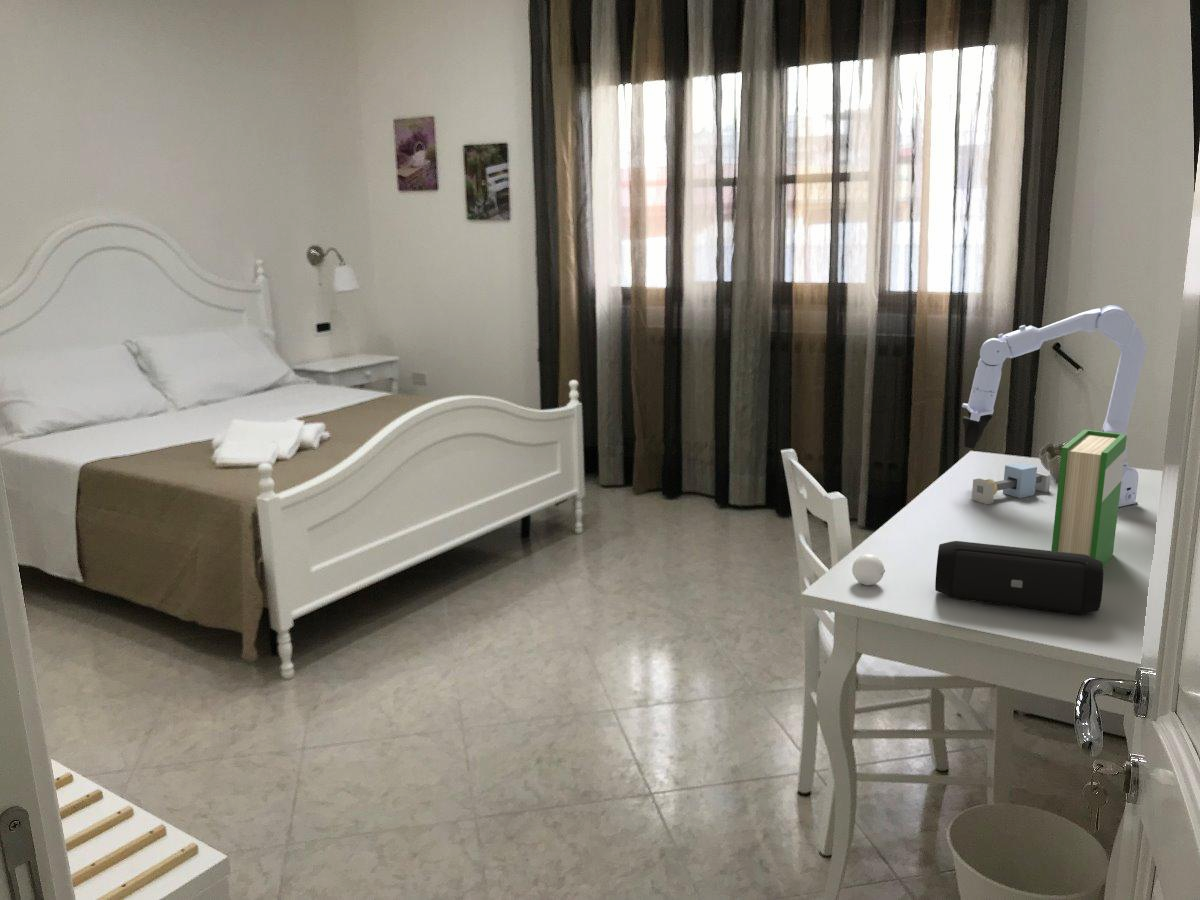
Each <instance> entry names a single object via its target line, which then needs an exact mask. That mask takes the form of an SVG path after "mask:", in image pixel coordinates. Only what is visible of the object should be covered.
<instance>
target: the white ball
mask: <svg viewBox="0 0 1200 900" xmlns="http://www.w3.org/2000/svg"><path fill="white" fill-rule="evenodd" d="M851 569H852V575H853V577H854V579H855V580H856V581H857V582H858V583H859V584H862V585H864V586H873V585H876V584H878V583H879V582H880V581H881V580H882V579H883V577H884V574H885V572H886V570H885V566H884V564H883V561H882V560H881V559H880V558H879V557H878V556H877V555H874V554H872V553H865V554H861V555H860V556H858V557H857V558H855V560H854V561H853V564H852V568H851Z"/></svg>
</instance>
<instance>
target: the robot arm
mask: <svg viewBox="0 0 1200 900" xmlns="http://www.w3.org/2000/svg"><path fill="white" fill-rule="evenodd" d="M1138 327H1139V326H1138V325H1137V323H1136V322H1135V320H1134V318H1133V317H1132V315H1131V314H1129V313H1128V312H1127V311H1126V310H1125V309H1124V308H1123V307H1121V306H1119V305H1116V304H1112V305H1111V304H1109V305H1106V306H1103V307H1102V308H1100V307H1099V308H1093V309H1090V310H1087V311H1082V312H1080V313H1076V314H1073V315H1072V316H1069V317H1066V318H1064V319H1061V320H1058V321H1055V322H1052V323H1051V324H1048V325H1045V326H1043V327H1039V328H1038V327H1036V326H1033V325H1028V326H1026V324H1023V325H1020V326H1019V327H1018V329H1017V330H1014V331H1010V332H1008V333H1005V334H1004V333H999V334H997V337H998V338H996V337H991V338H989V339H987V340H986V341H984V342H983V343H982V346H981V347H980V349H979V356H980V357H979V360H978V362H977V367H976V369H975V373H974V377H973V381H972V386H971V390H970V394H969V399H968V402H967V403H965V402H962V405H961V407H962V408H964V409H967V414H968V416H966V415H963V417H962V422H963V427H964V447H965V448H969V449H972V450H973V449H975V447H976V445H977V443H979V441H980V440H981V438H982V435H983V433H984V431H985V428H986V427H987V425H988V424H989V421H991V419H992V418H993V417H994V411H995V409H994V407H995V403H996V400H997V395H998V390H999V387H1000V383H1001V377H1002V372H1003V371H1002V369H1003V364H1004V362H1005V361H1006V359H1007V358H1009V359H1014V358H1016V357H1019V356H1023V355H1025V354H1028V353H1032V352H1035V351H1038V350H1040V349H1041V347H1042V345H1043V343H1044V342H1047V341H1050V340H1054V339H1056V338H1057V339H1058V338H1059V337H1064V336H1067V335H1070V334H1073V333H1076V332H1080V331H1082V332H1087V333H1093V334H1095V333H1096V329H1098V331H1099V332H1100V333H1101V335H1103V336H1104V337H1106V338H1108V339H1109V340H1111V341H1113V342H1114V344H1115V345H1116V346H1117V348H1118V349H1119V350H1120V355H1119V360H1118V364H1117V369H1116V373H1115V377H1114V381H1113V385H1112V389H1111V395H1110V399H1109V402H1108V403H1109V404H1108V408H1107V410H1106V416H1105V419H1104V422H1103V425H1102V429H1101V431H1102V432H1111V433H1120V434H1127V435H1128V428H1129V421H1130V418H1131V417H1130V416H1131V413H1132V409H1133V405H1134V401H1135V396H1136V392H1137V388H1138V384H1139V381H1140V380H1139V379H1140V374H1141V371H1142V367H1143V363H1144V360H1145V359H1144V358H1145V354H1146V350H1147V343H1146V341H1145V339H1144V338H1143V336H1142V334H1141V332H1140V329H1139V328H1138ZM1128 453H1129V449H1128V445H1127V444H1126V446H1125V455H1124V463H1123V472H1122V480H1121V489H1120V497H1119V506H1118V508H1121V507H1124V506H1125V507H1126V506H1129V505H1133V504H1134V505H1135V504H1138V502H1139V501H1138V500H1137V495H1138V494H1137V493H1138V483H1139V473H1138V470H1136V469H1135V468H1133V467H1131V466H1129V465H1128V460H1127V459H1126V458H1127V456H1128Z"/></svg>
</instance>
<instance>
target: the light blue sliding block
mask: <svg viewBox="0 0 1200 900" xmlns="http://www.w3.org/2000/svg"><path fill="white" fill-rule="evenodd" d="M1037 470H1038V466H1035V465H1030V464H1028V463H1024V462H1015V463H1010V464H1005V465H1004V473H1003V480H1007V479H1013V478H1015V479H1017V487H1014V488H1008V489H1003V490H1002V494H1005V495H1009V496H1011V497H1014V498H1019V499H1021V498H1026V497H1031V496H1035V494H1036V493H1035V492H1036V490H1035V484H1036V474H1037V472H1038V471H1037Z"/></svg>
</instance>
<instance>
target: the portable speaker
mask: <svg viewBox="0 0 1200 900" xmlns="http://www.w3.org/2000/svg"><path fill="white" fill-rule="evenodd" d="M935 569H936V570H935V583H934V584H935V585H934V589H935V591H936V592H937V593H940V594H942V595H944V596H946V597H948V598H950V599H957V600H962V601H963V600H964V601H970V602H971V601H972V602H978V603H979V602H980V603H984V604H985V603H987V604H995V605H1002V606H1010V607H1018V608H1026V609H1034V610H1042V611H1050V612H1059V613H1066V614H1074V615H1085V614H1089V613H1094V612H1098V611H1100V607H1101V604H1102V599H1103V587H1104V568H1103V563H1102V562H1101V561H1099V560H1097V559H1095V558H1092V557H1090V556H1087V555H1084V554H1075V553H1066V552H1056V551H1051V550H1045V549H1037V548H1028V547H1016V546H1010V545H1009V546H1008V545H999V544H990V543H982V542H981V543H980V542H969V541H960V540H953V541H948V542H944V543H943V542H942V543H940V544H939V545H938V550H937V559H936V567H935Z"/></svg>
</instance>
